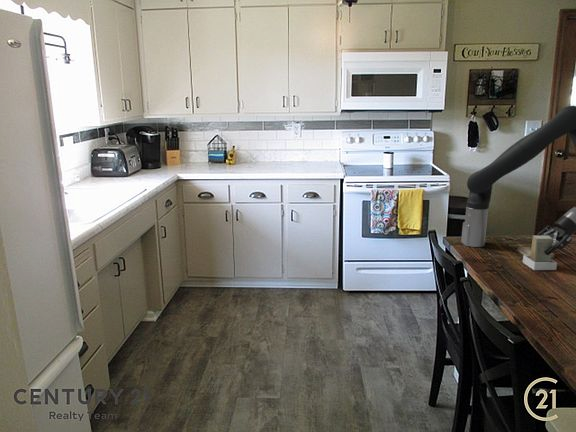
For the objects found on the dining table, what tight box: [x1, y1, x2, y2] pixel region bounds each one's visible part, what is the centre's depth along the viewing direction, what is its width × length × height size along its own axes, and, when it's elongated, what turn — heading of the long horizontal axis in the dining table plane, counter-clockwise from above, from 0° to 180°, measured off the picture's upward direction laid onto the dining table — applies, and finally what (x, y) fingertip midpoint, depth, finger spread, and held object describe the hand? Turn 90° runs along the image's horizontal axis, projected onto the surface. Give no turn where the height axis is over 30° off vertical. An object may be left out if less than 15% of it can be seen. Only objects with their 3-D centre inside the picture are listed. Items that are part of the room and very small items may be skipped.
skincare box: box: [530, 234, 553, 263], centre depth 192 cm, size 6×4×12 cm
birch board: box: [517, 246, 555, 259], centre depth 207 cm, size 11×9×2 cm
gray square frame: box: [522, 254, 558, 271], centre depth 193 cm, size 9×9×3 cm
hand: (539, 250), depth 192 cm, fingers open, 8 cm apart
